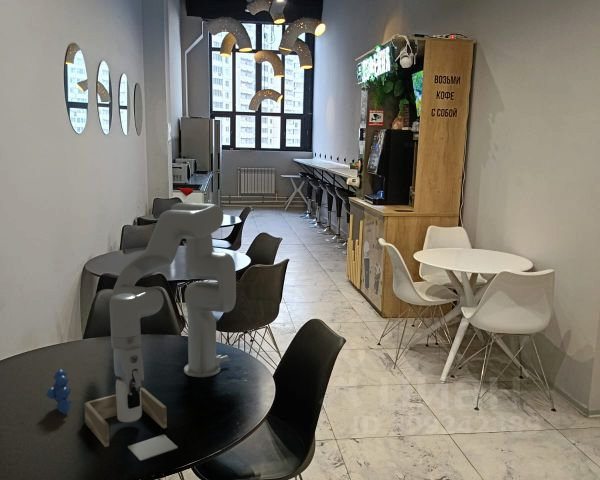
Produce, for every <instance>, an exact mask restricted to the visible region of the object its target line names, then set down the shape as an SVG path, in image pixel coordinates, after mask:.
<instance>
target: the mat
mask: <svg viewBox="0 0 600 480" xmlns="http://www.w3.org/2000/svg"><path fill="white" fill-rule="evenodd" d="M127 448H128V450H129V451H130V452H131V453H132V454H133V455H134V456H135V458H137V459H138V460H139V461H140V462H141V461H145V460H148V459H150V458H153V457H157V456H159V455H162V454H164V453H167V452H171V451H173V450H176V449H178V445H176V444H175V443H174V442H173V441H172V440H170V438H168V436H167V435H166V434H161V435H158V436H155V437H151V438H149V439H146V440H143V441H140V442H137V443H133V444H131V445H127Z"/></svg>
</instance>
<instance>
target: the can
mask: <svg viewBox="0 0 600 480" xmlns="http://www.w3.org/2000/svg"><path fill="white" fill-rule="evenodd" d="M132 382H134V381H133V380H131V381H130V383H132ZM134 386H135V384H134V385H131V390H132V388H133V387H134ZM115 394H116V403H117V417H116V418H117V420H118V421H119V422H120V423H125V424H126V423H128V424H129V423H134V422H137V421H138V420H140V419H141V417H142V415H143V410H142V406H141V389H140V406H138V407H135V408H131V409H129V408H128V399H127V395H128V394H129V393H128V387H127V385H126V384H125V383H124V382H123V381H122V380H120V379H119V378H118V376H116V380H115Z"/></svg>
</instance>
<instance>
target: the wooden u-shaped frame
mask: <svg viewBox="0 0 600 480" xmlns="http://www.w3.org/2000/svg"><path fill="white" fill-rule="evenodd" d="M141 406H142V412H143V411H144V413H146V414H147V415H148V416H149V417H150V418H151V419H152V420H153V421H154V422H155V423H156V424H157V425H159V426H160V427H161V428H163V429H167V428H168V423H167V421H168V420H167V413H168V411H167V406H166V405H165V404H164V403H162V402H161V401H160V400H159V399H157V398H156V397H155V396H154V395H152V394H151V393H150V392H149V391H148V390H147V389H146V388H144V387H141ZM83 410H84V411H83V412H84V424H85V423H86V424H85V425H86V426H87V428H89V430H90V429H91V430H90V431H91V432H92V433H93V435H94V436H95V437H96V438H97V439H98V440H99V441H100V443H101V444H102V445H103V446H104V448H107V447H109V446H110V431H109V427H110V426H109V423H108V422H107V421H106V419H110V418H114V417H116V416H117V403H116V393H115V394H112V395H108V396H105V397H100V398H97V399H93V400H89V401H86V402H83ZM163 429H162V430H163Z"/></svg>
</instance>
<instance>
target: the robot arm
mask: <svg viewBox="0 0 600 480" xmlns="http://www.w3.org/2000/svg"><path fill="white" fill-rule="evenodd" d="M223 222H224V212H223V210H222V207H220V205H218V204H214V203H200V202H185V201H184V202H178V203H177V202H176V203H174V204H173V205H172V206H171V209H167V210H165V211H163V212H162V213H160V215H159V217H158V219H157V222H156V224H155V226H154V229H153V232H152V234H151V236H150V239H149V241H148V243H147V246H146V247H145V250H144V251H143V252H142V253H141V254H139V255H138V256H136V257H135V258H134V259H133V260H131V261H130V262H129V263H128V264H127V265H126V266H125V267H124V268H123V269H122V270H121V272H120V273H119V275H118V277H117V278H116V282H115V284H114V287H113V289H112V292H111V297H110V299H109V318H110V319H109V320H110V321H109V323H110V338H111V339H110V340H111V342H110V343H111V348H112V349H113V370H114V371H113V372H114V374H115V376H116V377H117V376H118V378H119V379H120V380H122V381H123V382H124V383H125V384H126V385H127V387H128V393H129V394H128V395H127V399H128V408H129V409H131V408H135V407H138V406H140V389H141V388H142V382H144V380H145V372H144V371H145V370H144V363H143V362H144V361H143V353H142V349H141V345H142V340H141V339H142V335H141V318H144V317H150V316H152V315H155V314H158V312H159V311H161V309H162V307H163V305H164V302H165V301H164V300H165V299H164V295H163V294H162V292H161V291H160V290H158V289H156V288H152V287H146V286H145V287H144V286H139V285H138V286H136V284H137V282H138V281H140V279H141V278H142V277H144V276H146V275H147V274H150V273H151V272H155V271H157V270H160V269H163V268H165V267H168V266H170V265H172V264H173V263H174V260H175V257H176V256H177V252H178V249H179V247H180V244H181V242H182V241H183V240H184V239H185V240H186V241H185V242H186V254H187V269H188V273H189V275H190V276H191V277H192V278H194V279H198V280H199V279H200V280H205V281H193V282H191V283H189V284H188V285H187V286H186V288H185V291H184V303H185V307H186V313H187V339H188V340H187V343H188V344H187V346H188V348H187V351H188V353H187V354H188V355H187V356H188V363H187V364H186V365H185V366H184V368H183V372H184V374H186V375H187V376H189V377H193V378H206V377H207V378H208V377H212V376H215V375H218V374H219V373H220V372H221V370H222V369H221V363H224V362H228V361H229V358H230V357H229V356H228V355H223V356H222V354H217V320H216V317H215V315H214V313H213V312H215V313H216V312H217V313H230V312H231V311H232V310H233V309H234V308H235V305H236V300H237V278H236V275H237V274H236V271H237V270H236V262H235V260H234V258H233V256H232V255H231V254H230V253H227V252H224V251H223V252H222V251H221V252H219V251H215V250H214V245H213V244H214V243H213V236H212V233H215V232H217V231H218V230H219V229H220V228H221V226H222V224H223ZM206 280H207V281H206ZM210 281H216V282H210ZM131 380H133V381H134V382H132V383H130V381H131ZM134 384H135V386H134V387H133V388H132V390H131V385H134Z"/></svg>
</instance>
